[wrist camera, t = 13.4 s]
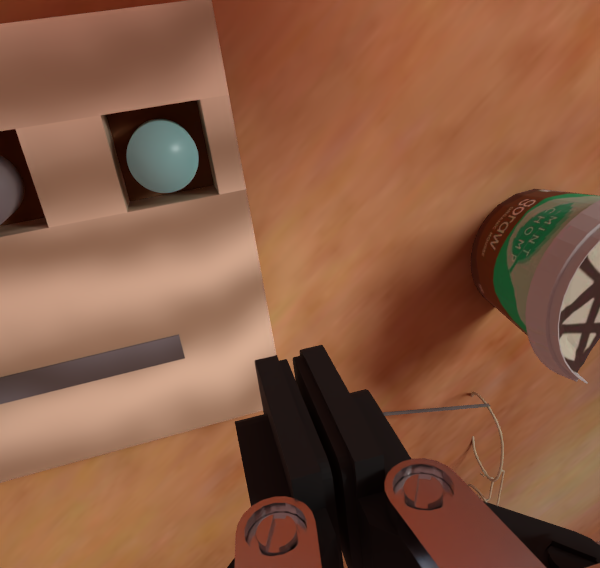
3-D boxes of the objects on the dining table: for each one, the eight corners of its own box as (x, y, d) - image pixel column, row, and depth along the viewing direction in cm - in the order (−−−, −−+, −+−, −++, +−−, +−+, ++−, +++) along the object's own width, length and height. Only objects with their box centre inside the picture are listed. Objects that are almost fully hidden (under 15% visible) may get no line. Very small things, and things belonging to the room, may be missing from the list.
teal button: (121, 124, 29) (117, 128, 26) (187, 113, 29) (190, 116, 27) (138, 189, 30) (136, 199, 27) (200, 177, 31) (205, 186, 28)
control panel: (-369, 79, 23) (-441, 78, 21) (205, 6, 28) (211, -3, 25) (-127, 488, 33) (-154, 525, 30) (275, 381, 37) (285, 405, 35)
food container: (515, 138, 36) (638, 155, 26) (575, 177, 38) (707, 205, 29) (425, 295, 38) (509, 360, 29) (486, 322, 40) (582, 391, 31)
